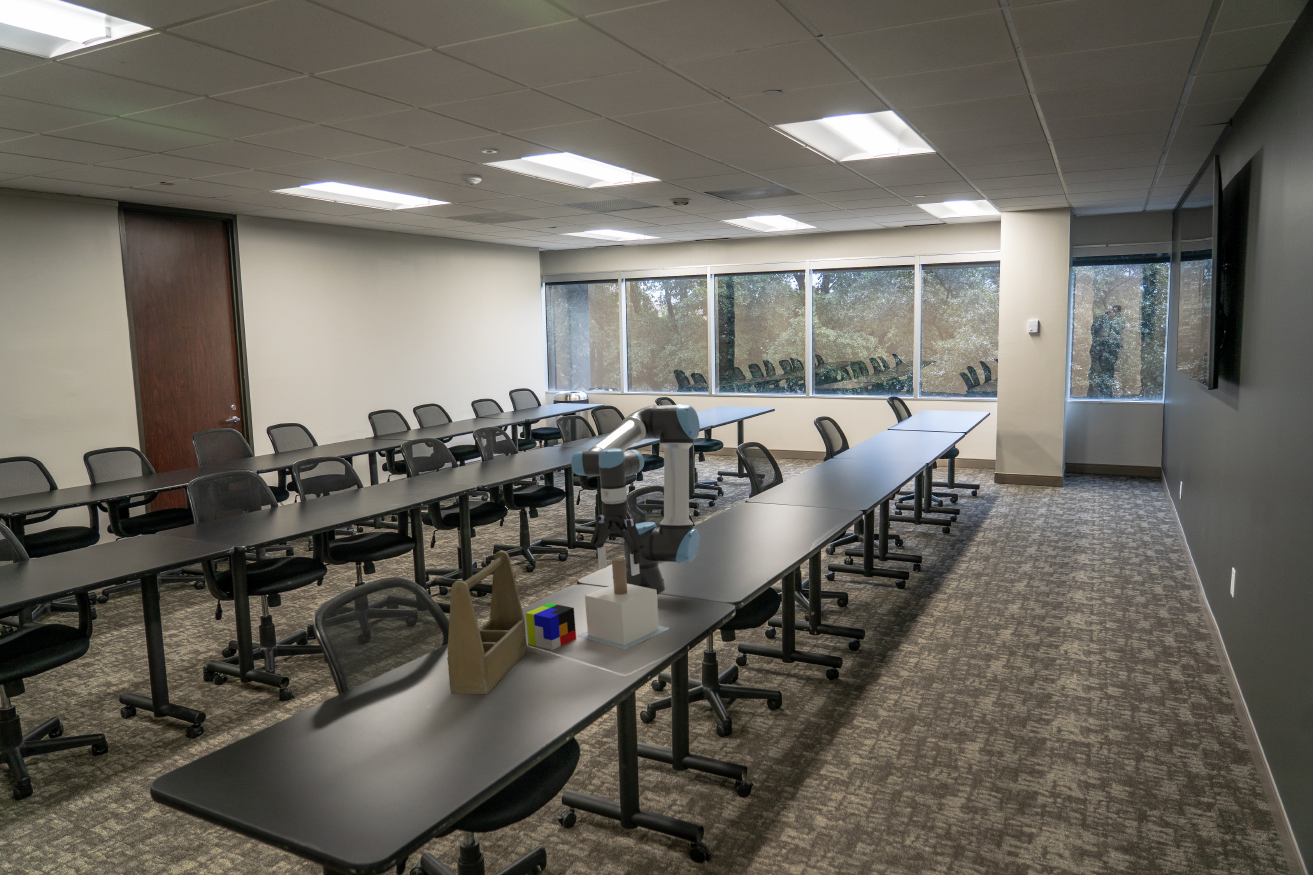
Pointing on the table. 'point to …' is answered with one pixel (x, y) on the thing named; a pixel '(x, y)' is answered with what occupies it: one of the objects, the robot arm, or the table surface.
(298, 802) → the table surface
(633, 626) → the cover box
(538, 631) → the puzzle toy
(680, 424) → the robot arm
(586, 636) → the mat
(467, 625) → the caddy
